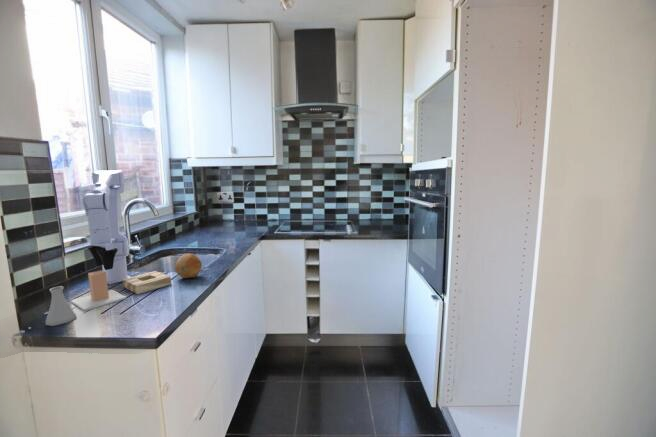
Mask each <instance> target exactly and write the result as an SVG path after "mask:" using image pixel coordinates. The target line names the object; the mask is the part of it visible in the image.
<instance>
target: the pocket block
mask: <svg viewBox="0 0 656 437" xmlns="http://www.w3.org/2000/svg"><path fill="white" fill-rule="evenodd" d="M171 279H172V278H171V276H169V275H167V274H165V273H163V272H159V271H157V270H154V271H151V272H146V273H143V274H138V275H135V276H130V278H126V279H122V280H123V281H122V287H123V288H124V289H127V290H128V291H130V292H133V293H134V294H137V295H140V294H143V293H146V292H150V291H152V290H153V291H154V290H157V289H159V288H162V287H167V286H169V285H172V280H171Z"/></svg>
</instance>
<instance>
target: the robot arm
mask: <svg viewBox="0 0 656 437" xmlns="http://www.w3.org/2000/svg"><path fill="white" fill-rule="evenodd" d="M91 180H92V183H93V185H91V187H90V190H89V192H88V193H86V194H84V195H83V196H82V206H83V209H84V212H85V216H86V217H87V224H88V229H89V230H88V231H89V237H90V239H89V240H90V242H89V245H90V246H87V247H86V248H87V251H89V252H90V254H91V256H92V258H93V260H94V262H95V265H96V266H97V267H99V266H101V267H102V269H101V270H103V271H104V272H106V278H107V284H109V285H113V284H117V283H120V282H123V280H122V279H126V278H130V277H131V276H130V275H128V268H127V267H128V266H127V258H126V257H128V256H129V255H130V246H129V245H130V243H129V239H128V237H127V236H126V235H124V234H122V233H121V231H120V204H119V203H120V202H119V200H120V195H121V194H123V193H124V191H125V176H124V172H123V171H122V170H121V169H120V170H93V171H92V173H91Z"/></svg>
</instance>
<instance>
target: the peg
mask: <svg viewBox="0 0 656 437" xmlns="http://www.w3.org/2000/svg"><path fill="white" fill-rule="evenodd" d="M87 275H88V281H89V282H88V283H89V292H90V295H91V299H92V300H93V301H95V302H96V301H100V300H103V299H107V298H109V294H108V290H109V287H108V283H107V278H106V272H104V271H103V269H101V270H96V271H92V272H88V273H87Z"/></svg>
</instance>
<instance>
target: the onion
mask: <svg viewBox="0 0 656 437" xmlns="http://www.w3.org/2000/svg"><path fill="white" fill-rule="evenodd" d="M174 266H175V267H174V268H175V272H176V274H177V275H178V276H179V277H181V278H182V279H193V278H196V277H197V276H198V275H199V274H200V272H201V270H202V262H201V260H200V258H199V257H198V255H196V254H194V253H183V254H181V255H180V257H179V258H178V259H177V260H176V263H175V265H174Z"/></svg>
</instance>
